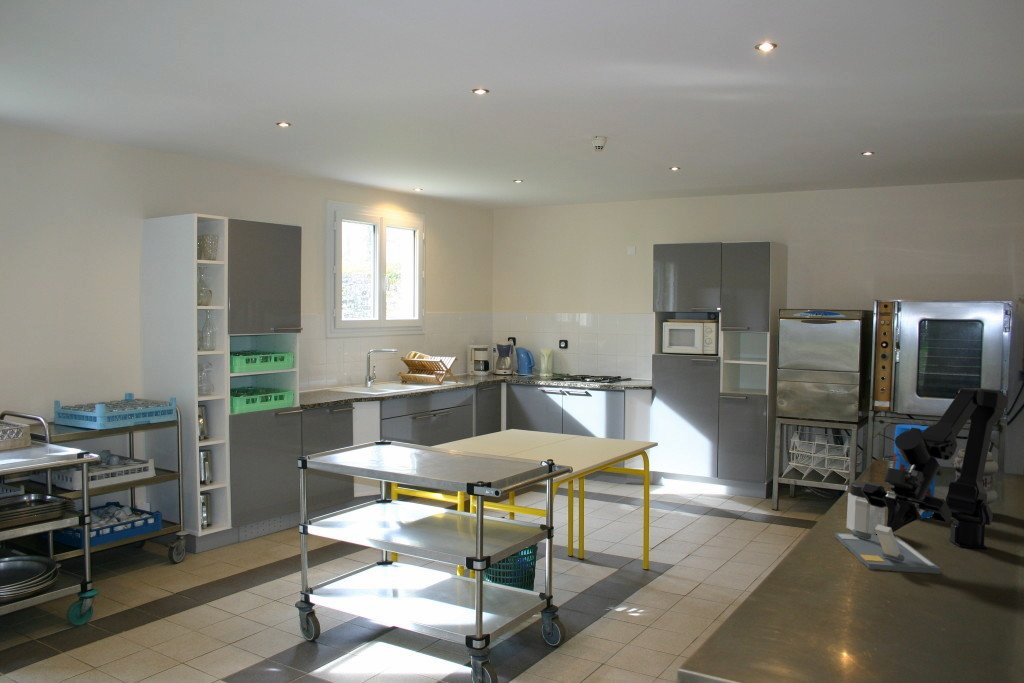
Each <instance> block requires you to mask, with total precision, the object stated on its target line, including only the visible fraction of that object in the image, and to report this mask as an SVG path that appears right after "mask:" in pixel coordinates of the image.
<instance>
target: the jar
mask: <svg viewBox="0 0 1024 683" xmlns="http://www.w3.org/2000/svg"><path fill="white" fill-rule="evenodd" d="M865 483H869V481H868V482H865V481H852V482H851V483H850V484H849V485H850V487H849V492H848V494H847V508H846V509H847V510H846V512H847V513H846V529H848V530H849V531H852V530H853V529H854V525H855V500H858V499H860V500H864V501H867V500H866V498H865V496H864V495H863V493H862V492H861V489H862V488H863V486H864V485H865ZM871 483H872V484H876V485H881V484H878V483H874V482H871ZM881 486H882V487H883V488H884V489H885V487H884V486H883V485H881ZM885 516H886V507H884V508H880V507H876V506H872V505H870V518H869V532H868V533H869V534H872V535H876V534H877V533H876V531H875V528H876V526H877V525H882V526H885V520H886V517H885Z"/></svg>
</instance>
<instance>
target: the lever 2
mask: <svg viewBox="0 0 1024 683" xmlns="http://www.w3.org/2000/svg"><path fill="white" fill-rule="evenodd" d="M875 531H876V533H877V535H878V538H879V541H880V543H881V546H882V548H883V552H882V555H883V556H885V557H888V558H892V559H895V560H898V561H902V562H903V561H904V555H900V551H899V548H898V546H897V543H896V540H895V538H894V536H895V535H894V532H893V531H892V529H891V528H890V527H887V525H884V526H882V525H877V526H876V528H875Z"/></svg>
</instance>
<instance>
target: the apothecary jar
mask: <svg viewBox="0 0 1024 683" xmlns="http://www.w3.org/2000/svg"><path fill="white" fill-rule="evenodd" d="M992 453H993V452H990V451H988V454H987V459H986V464H985V469H984V474H983V480H982V484H983V486H984V489H985V491H986V493H987V504H988V505H989V504H992V503H994V502H995V501H997V499H998V493H997V491H996V490H995V489H994V488H993V483H994V480H993V479H994V474H995V473H997V471H999V465H998V463H997V462H996V461H995V460H994V458H993V454H992ZM964 454H965V448H964V449H963V448H962V449H959V450H958V453H957V456H955V457H954V458H953V459H952V460H951V465H952V467H953V468H954V469H955V475H954V476H955V477H954V478H955V479H954V482H955V481H956V480H957V479H958V478H959V477H960V474H961V469H962V464H963V459H964Z"/></svg>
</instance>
